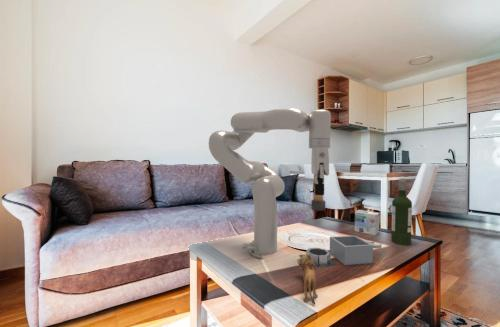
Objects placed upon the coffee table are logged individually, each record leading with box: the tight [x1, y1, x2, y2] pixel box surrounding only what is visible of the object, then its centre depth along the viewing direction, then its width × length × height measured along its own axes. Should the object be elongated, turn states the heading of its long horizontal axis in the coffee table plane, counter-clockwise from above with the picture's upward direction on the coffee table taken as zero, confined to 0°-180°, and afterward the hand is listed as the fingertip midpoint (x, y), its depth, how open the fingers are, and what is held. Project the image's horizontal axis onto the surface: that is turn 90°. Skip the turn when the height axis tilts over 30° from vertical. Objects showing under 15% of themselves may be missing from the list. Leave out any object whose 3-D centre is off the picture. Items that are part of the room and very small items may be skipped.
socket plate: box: [298, 247, 340, 268], centre depth 91 cm, size 11×11×4 cm
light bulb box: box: [354, 209, 380, 236], centre depth 131 cm, size 11×7×11 cm, turn 50°
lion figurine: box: [296, 253, 319, 305], centre depth 72 cm, size 15×5×9 cm, turn 179°
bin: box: [329, 235, 374, 266], centre depth 93 cm, size 11×11×8 cm
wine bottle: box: [390, 177, 413, 246], centre depth 115 cm, size 8×8×30 cm
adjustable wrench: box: [365, 240, 382, 249], centre depth 109 cm, size 25×6×2 cm, turn 100°
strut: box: [310, 171, 326, 212], centre depth 91 cm, size 5×5×16 cm
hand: (318, 193), depth 91 cm, fingers closed on strut, 3 cm apart
